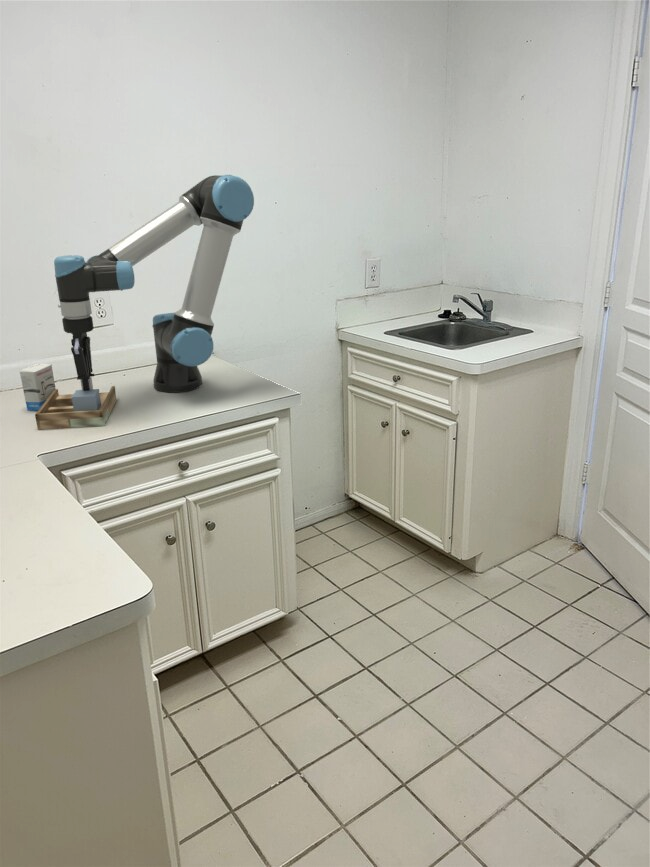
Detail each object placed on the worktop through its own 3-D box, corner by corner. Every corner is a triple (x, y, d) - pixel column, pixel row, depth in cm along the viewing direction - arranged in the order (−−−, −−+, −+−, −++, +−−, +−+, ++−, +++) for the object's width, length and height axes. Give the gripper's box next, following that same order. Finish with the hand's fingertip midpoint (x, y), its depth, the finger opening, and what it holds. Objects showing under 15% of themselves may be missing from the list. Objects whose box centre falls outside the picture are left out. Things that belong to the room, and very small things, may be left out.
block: (101, 406, 179) (98, 389, 177) (97, 413, 174) (94, 395, 172) (79, 407, 178) (76, 390, 177) (74, 414, 173) (71, 397, 171)
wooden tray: (116, 399, 192) (114, 386, 190) (104, 425, 172) (102, 410, 170) (57, 402, 190) (54, 389, 188) (37, 429, 169) (34, 414, 168)
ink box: (41, 411, 183) (34, 371, 178) (26, 410, 184) (18, 370, 179) (59, 401, 190) (52, 363, 186) (44, 400, 191) (37, 362, 187)
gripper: (67, 311, 176) (79, 393, 184) (56, 321, 164) (70, 408, 172) (96, 311, 177) (106, 392, 185) (86, 320, 165) (98, 407, 173)
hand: (89, 400), depth 179 cm, fingers closed
